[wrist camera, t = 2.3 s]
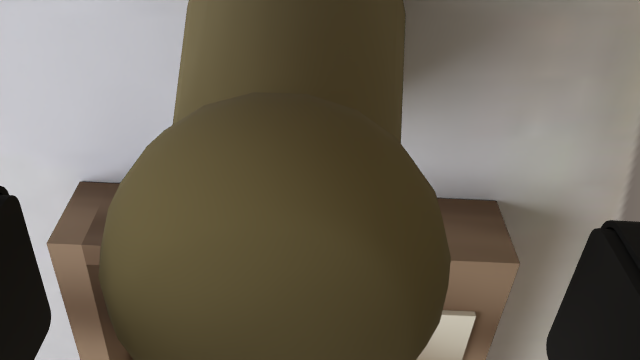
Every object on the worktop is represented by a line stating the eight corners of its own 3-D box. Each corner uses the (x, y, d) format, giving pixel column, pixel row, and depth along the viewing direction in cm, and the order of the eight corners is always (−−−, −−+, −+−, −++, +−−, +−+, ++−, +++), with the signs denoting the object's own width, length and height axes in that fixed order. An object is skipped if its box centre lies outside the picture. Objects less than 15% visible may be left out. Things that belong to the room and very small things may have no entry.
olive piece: (433, -63, 15) (591, 215, 6) (375, 134, 19) (424, 489, 10) (195, -113, 15) (0, 122, 6) (181, 102, 18) (48, 452, 9)
